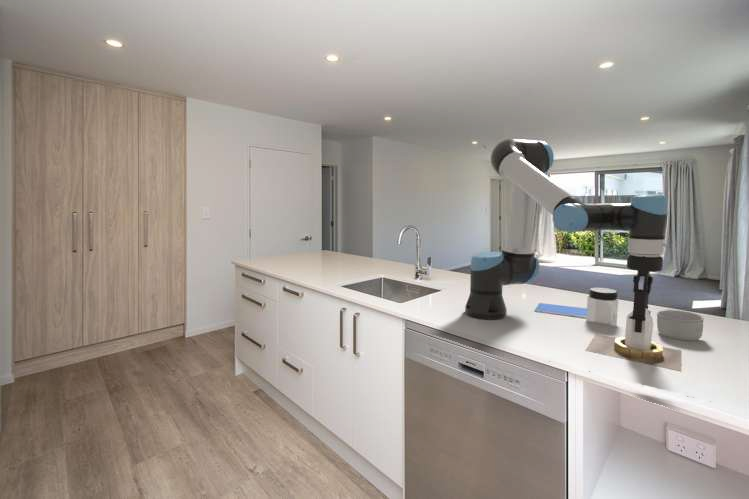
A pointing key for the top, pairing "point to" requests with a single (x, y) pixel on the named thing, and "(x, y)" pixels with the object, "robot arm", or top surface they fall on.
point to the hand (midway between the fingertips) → (638, 339)
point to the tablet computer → (561, 310)
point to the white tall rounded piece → (646, 336)
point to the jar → (602, 306)
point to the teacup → (680, 324)
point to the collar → (638, 350)
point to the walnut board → (606, 347)
